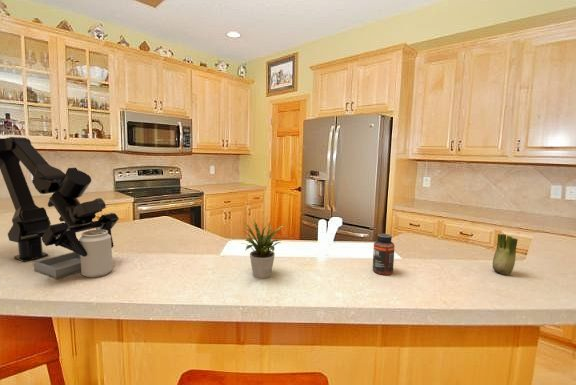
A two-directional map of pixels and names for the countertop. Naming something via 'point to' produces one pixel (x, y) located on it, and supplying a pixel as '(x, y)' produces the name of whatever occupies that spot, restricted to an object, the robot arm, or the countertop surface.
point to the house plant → (262, 252)
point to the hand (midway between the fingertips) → (99, 251)
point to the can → (96, 253)
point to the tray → (59, 265)
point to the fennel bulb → (505, 254)
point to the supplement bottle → (383, 255)
